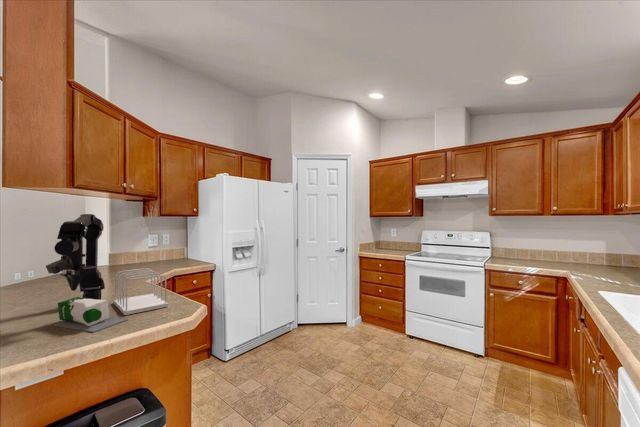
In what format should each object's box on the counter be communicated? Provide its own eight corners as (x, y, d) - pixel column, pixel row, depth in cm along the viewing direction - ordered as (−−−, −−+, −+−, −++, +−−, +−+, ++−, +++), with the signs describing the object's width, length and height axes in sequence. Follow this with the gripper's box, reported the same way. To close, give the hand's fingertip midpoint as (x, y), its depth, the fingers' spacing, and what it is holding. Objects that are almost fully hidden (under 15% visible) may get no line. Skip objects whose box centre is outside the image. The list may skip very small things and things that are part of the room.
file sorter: (168, 307, 134) (168, 273, 134) (124, 316, 122) (124, 279, 122) (153, 296, 152) (153, 267, 152) (113, 303, 140) (113, 271, 140)
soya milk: (54, 301, 113) (88, 306, 107) (80, 293, 122) (113, 298, 115) (56, 323, 114) (90, 329, 107) (82, 313, 123) (115, 319, 116)
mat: (90, 314, 124) (90, 313, 124) (127, 320, 117) (127, 319, 117) (53, 325, 111) (53, 324, 111) (93, 332, 104) (93, 331, 104)
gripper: (34, 253, 113) (34, 293, 113) (66, 255, 107) (66, 297, 107) (67, 250, 124) (66, 287, 123) (97, 252, 118) (97, 290, 118)
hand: (73, 290), depth 118 cm, fingers closed
